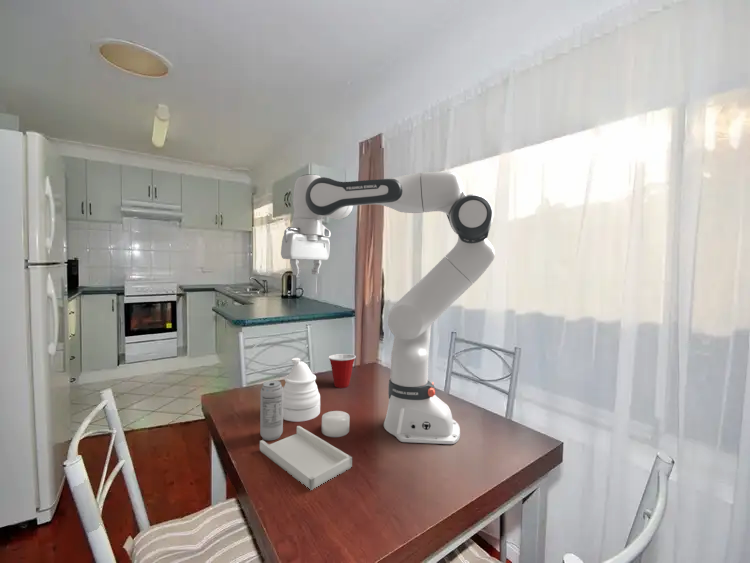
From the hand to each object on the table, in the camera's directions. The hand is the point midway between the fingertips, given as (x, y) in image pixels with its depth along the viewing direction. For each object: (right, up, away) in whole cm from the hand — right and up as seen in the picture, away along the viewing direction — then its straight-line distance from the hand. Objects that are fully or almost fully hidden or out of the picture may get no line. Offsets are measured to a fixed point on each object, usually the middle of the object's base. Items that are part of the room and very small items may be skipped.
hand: (306, 274), depth 106 cm
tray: (+4, -46, -21) cm, 51 cm away
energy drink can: (-8, -46, -10) cm, 47 cm away
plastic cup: (+8, -44, +31) cm, 54 cm away
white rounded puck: (+10, -46, -6) cm, 47 cm away
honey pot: (-3, -45, +5) cm, 45 cm away
